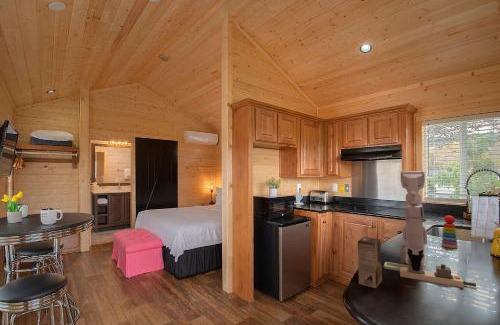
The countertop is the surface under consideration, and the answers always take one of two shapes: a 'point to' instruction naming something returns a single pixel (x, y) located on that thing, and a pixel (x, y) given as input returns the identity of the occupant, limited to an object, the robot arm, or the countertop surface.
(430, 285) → the countertop surface
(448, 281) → the power strip
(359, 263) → the coffee box
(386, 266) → the tray
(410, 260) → the plug
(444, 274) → the seated twin plug
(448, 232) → the stacking toy
